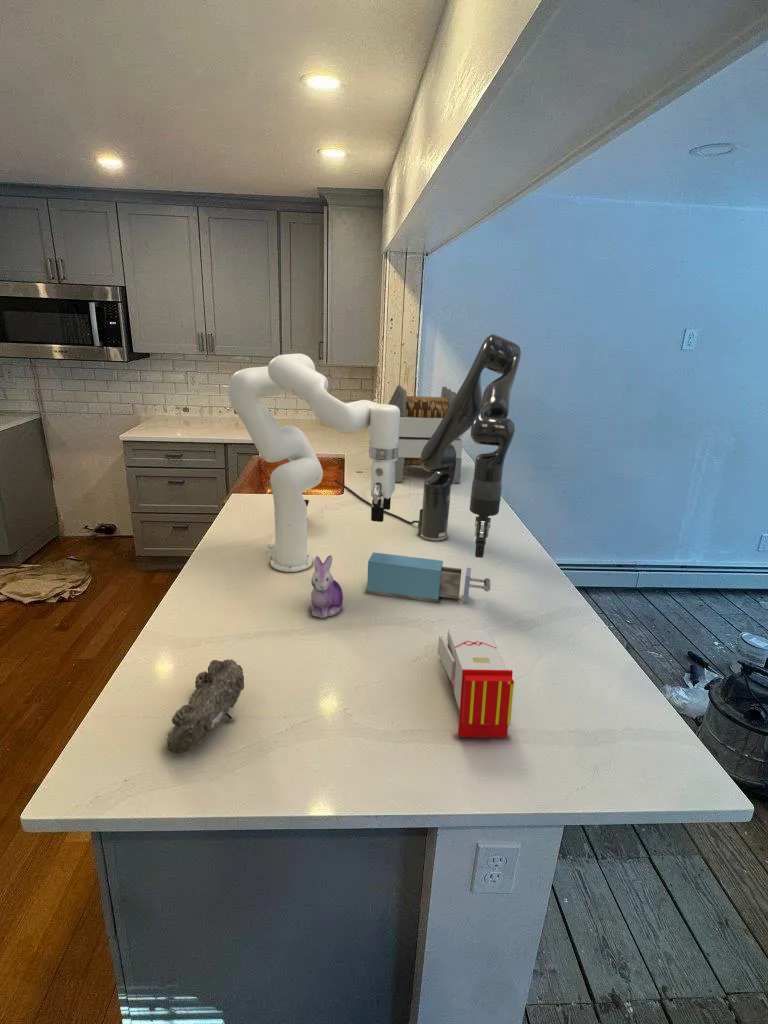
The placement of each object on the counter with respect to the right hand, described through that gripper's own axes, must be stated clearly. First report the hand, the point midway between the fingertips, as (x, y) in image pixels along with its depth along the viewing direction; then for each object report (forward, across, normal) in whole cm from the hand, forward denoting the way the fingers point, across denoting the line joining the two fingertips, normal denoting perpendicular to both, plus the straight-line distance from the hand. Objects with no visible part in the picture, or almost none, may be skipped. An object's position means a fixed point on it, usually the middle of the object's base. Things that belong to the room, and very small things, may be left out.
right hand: (479, 556), depth 151 cm
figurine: (+14, -15, +38) cm, 43 cm away
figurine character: (+14, +41, +65) cm, 78 cm away
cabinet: (+14, 0, +20) cm, 24 cm away
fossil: (+14, -60, +47) cm, 77 cm away
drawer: (+13, 0, +8) cm, 15 cm away
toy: (+14, -40, -1) cm, 42 cm away
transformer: (+14, +123, +32) cm, 128 cm away
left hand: (-9, 0, +27) cm, 28 cm away
